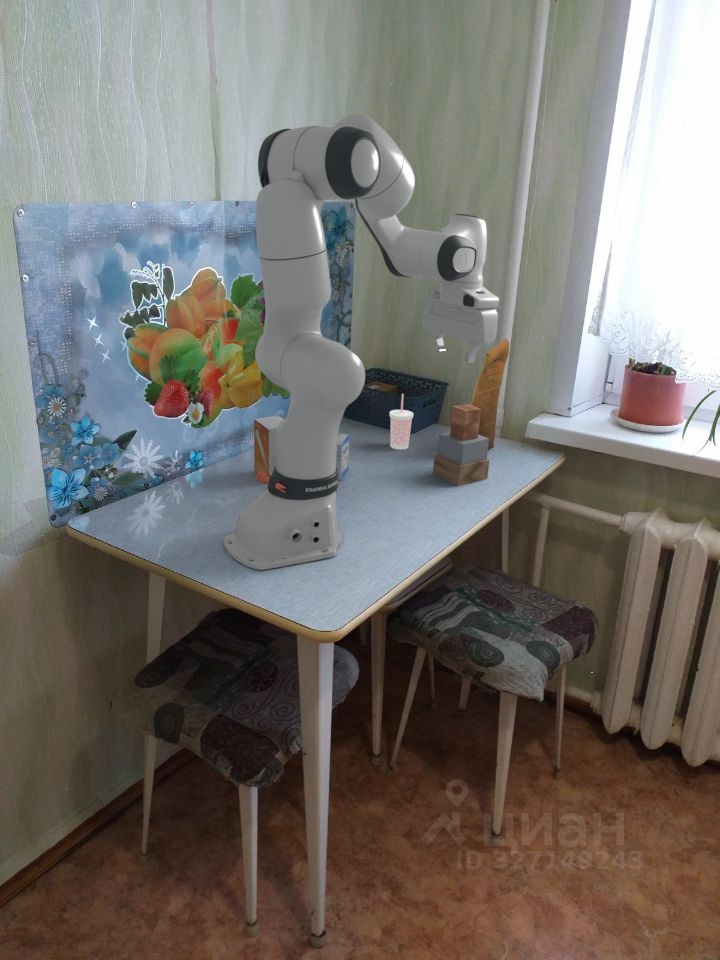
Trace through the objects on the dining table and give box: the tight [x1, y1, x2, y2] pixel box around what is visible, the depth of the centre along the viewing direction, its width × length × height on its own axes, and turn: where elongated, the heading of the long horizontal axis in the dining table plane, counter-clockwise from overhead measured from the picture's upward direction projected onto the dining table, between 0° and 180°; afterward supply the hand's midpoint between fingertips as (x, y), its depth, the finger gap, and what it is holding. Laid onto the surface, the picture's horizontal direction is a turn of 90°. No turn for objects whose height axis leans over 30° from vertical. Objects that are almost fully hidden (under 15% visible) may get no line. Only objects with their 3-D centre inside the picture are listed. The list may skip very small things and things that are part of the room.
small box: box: [253, 415, 285, 477], centre depth 171 cm, size 8×6×13 cm
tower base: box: [432, 453, 490, 487], centre depth 177 cm, size 9×9×5 cm
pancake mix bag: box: [470, 338, 510, 450], centre depth 190 cm, size 7×19×28 cm, turn 147°
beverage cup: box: [389, 393, 414, 450], centre depth 193 cm, size 6×6×14 cm
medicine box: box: [336, 433, 350, 481], centre depth 175 cm, size 8×4×9 cm, turn 168°
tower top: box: [437, 432, 489, 465], centre depth 176 cm, size 8×8×5 cm
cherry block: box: [450, 403, 481, 441], centre depth 173 cm, size 4×4×7 cm
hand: (454, 357), depth 169 cm, fingers open, 8 cm apart
